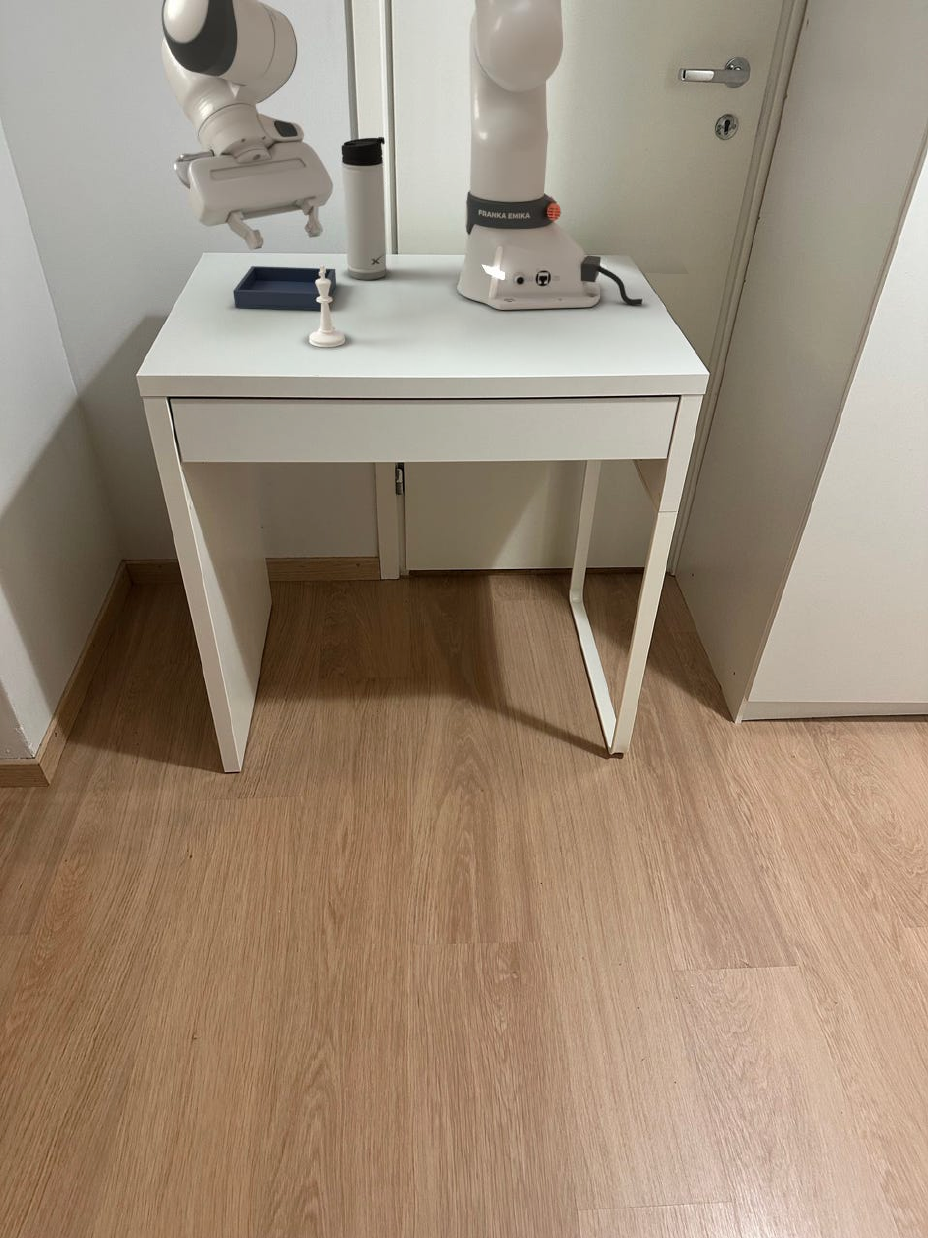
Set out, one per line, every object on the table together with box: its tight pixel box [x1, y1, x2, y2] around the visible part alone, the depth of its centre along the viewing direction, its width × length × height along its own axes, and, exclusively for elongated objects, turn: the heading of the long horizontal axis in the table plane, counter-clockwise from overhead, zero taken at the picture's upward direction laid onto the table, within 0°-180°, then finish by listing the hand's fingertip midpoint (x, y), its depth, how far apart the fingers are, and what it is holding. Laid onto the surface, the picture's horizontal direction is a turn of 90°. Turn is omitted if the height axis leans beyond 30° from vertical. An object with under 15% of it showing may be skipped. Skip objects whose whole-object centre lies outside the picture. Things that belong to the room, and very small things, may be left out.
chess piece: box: [308, 264, 346, 348], centre depth 118 cm, size 5×5×10 cm
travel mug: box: [341, 136, 387, 281], centre depth 138 cm, size 6×7×20 cm
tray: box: [232, 265, 337, 312], centre depth 134 cm, size 13×12×2 cm
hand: (288, 240), depth 118 cm, fingers open, 8 cm apart
